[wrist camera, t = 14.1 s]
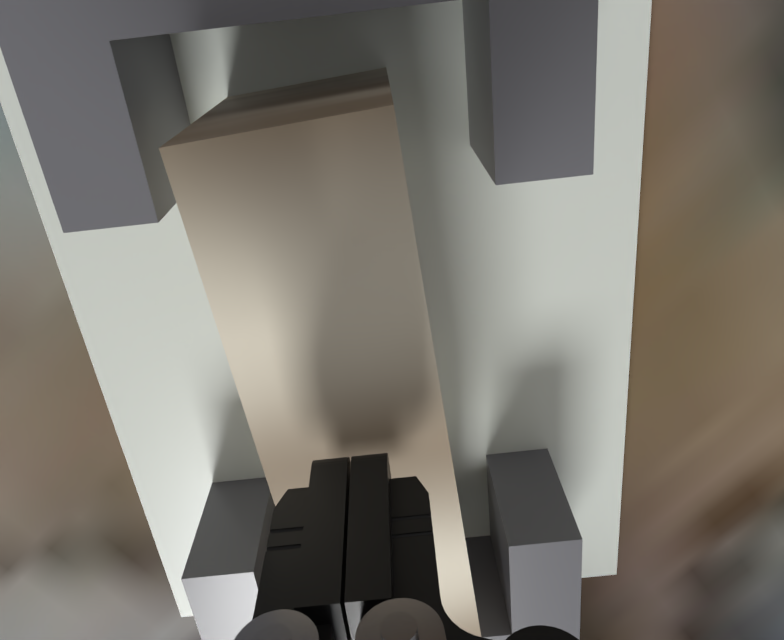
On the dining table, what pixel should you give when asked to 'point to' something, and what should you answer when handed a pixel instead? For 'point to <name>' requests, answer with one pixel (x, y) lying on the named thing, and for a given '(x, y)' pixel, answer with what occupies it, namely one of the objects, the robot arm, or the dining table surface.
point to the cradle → (434, 243)
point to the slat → (322, 290)
